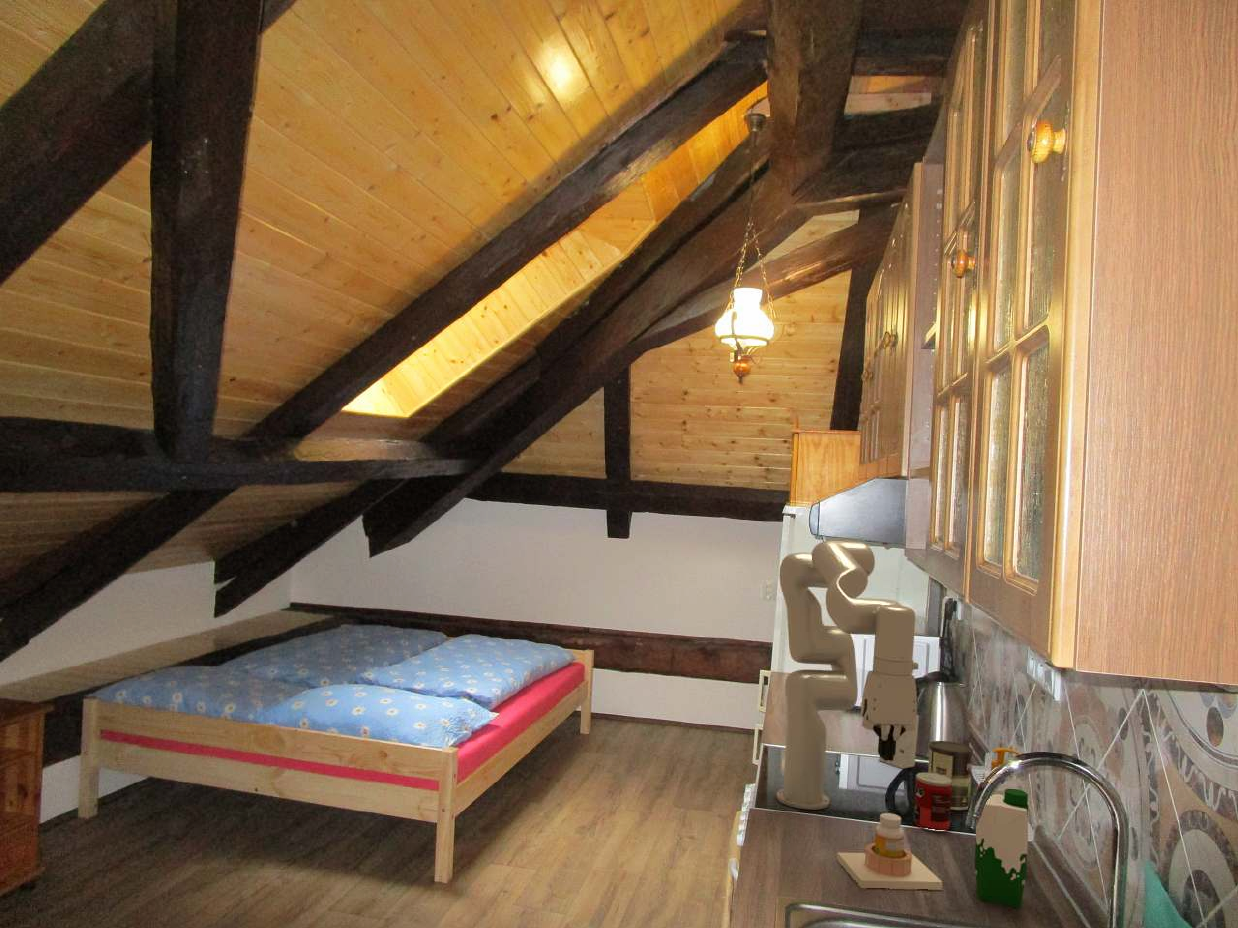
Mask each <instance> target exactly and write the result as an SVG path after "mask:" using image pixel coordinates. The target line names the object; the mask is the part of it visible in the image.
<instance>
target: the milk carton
mask: <svg viewBox="0 0 1238 928" xmlns="http://www.w3.org/2000/svg"><path fill="white" fill-rule="evenodd" d="M1028 798H1029V794H1028V793H1027V792H1026V791H1023V790H1020V789H1018V788H1017V789H1005V794H1004V796H1003V795H1000V794H996V795H995V794H993V795H992V796H990V798H989V799H988V800H987V802H986V804H985V806H984V809H983V812H982V815H981V817H980V819H979V821H978V823H977V822H976V823H977V825H976V824H975V825H976V826H975V842H974V843H975V844H974V845H975V846H974V873H975V874H974V875H975V881H976V888H977V896H978V900H979V901H984V902H988V903H993V904H997V905H1001V906H1006V907H1011V908H1015V909H1016V908H1017V909H1021V905H1022V900H1023V896H1024V892H1025V891H1024V890H1025V884H1026V878H1027V870H1028V869H1027V868H1028V849H1029V848H1028V847H1029V824H1028V823H1029V822H1028V821H1029V819H1028V818H1029V815H1028V814H1029V804H1028V800H1029V799H1028Z"/></svg>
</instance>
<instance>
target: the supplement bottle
mask: <svg viewBox="0 0 1238 928" xmlns="http://www.w3.org/2000/svg"><path fill="white" fill-rule="evenodd" d="M901 825H902V817H901V816H900V815H898V814H894V813H890V812H889V813H888V812H883V813H880V816H879V824H877V826H876V827H875V837H874V843H875V853H876V854H879V855H881V856H884V857H889V858H903V848H904V843H905V832H904V830H903V828H901Z"/></svg>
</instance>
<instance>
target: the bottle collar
mask: <svg viewBox="0 0 1238 928" xmlns="http://www.w3.org/2000/svg"><path fill="white" fill-rule="evenodd" d="M864 853H865V865H866V866H867V867H868V868H869V869H871V870H873V871H875V872H878V873H880V874H885V875H889V876H905V875H909V874H910V873H911V870H912V854H913V853H912V852H911V851H909V849H906V847H903V858H889V857H884V856H881V855H879V854H876V853H875V842H871V843H869V844H867V845H866V846H865V852H864Z"/></svg>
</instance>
